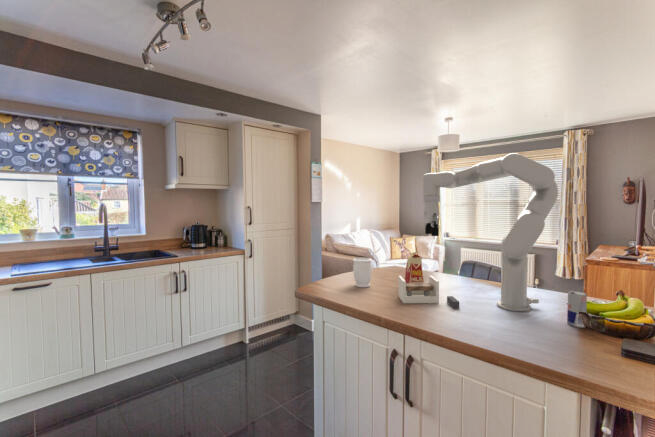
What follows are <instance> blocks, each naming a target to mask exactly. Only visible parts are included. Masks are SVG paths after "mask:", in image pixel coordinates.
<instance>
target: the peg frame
mask: <svg viewBox="0 0 655 437" xmlns="http://www.w3.org/2000/svg"><path fill="white" fill-rule="evenodd" d="M397 278H398V279H397V280H398V297H399V299H400V300H401V302H402V304H439V303H440V281H439V280H438V279H437V278H436V277H434V276H433V275H429V276H428V283H430V284H431V285H432V286H433V291H406V281H405V278H404V277H402V275H398V277H397Z"/></svg>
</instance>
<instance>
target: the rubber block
mask: <svg viewBox="0 0 655 437" xmlns="http://www.w3.org/2000/svg"><path fill="white" fill-rule="evenodd" d="M446 304H448V305H449V307H451V308H452V309H453V310H460V301H459V300H458V299H456V298H455V297H454V296H453V295H452V296H451V295H447V296H446Z"/></svg>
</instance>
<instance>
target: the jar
mask: <svg viewBox="0 0 655 437" xmlns="http://www.w3.org/2000/svg"><path fill="white" fill-rule="evenodd" d="M352 261H353V264H352V265H353V266H352V272H353V278H354V281H355V284H354V285H355V287H358V288H369V287H371V284H370V283H371V280H372V274H373V264H372V261H373V260H372V258H370V257H364V256H363V257H355V258H353V259H352Z"/></svg>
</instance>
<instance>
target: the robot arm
mask: <svg viewBox="0 0 655 437" xmlns="http://www.w3.org/2000/svg"><path fill="white" fill-rule="evenodd" d="M512 176H513V178H517V179H518V180H519V181H522V182H524V183H526V184H528V185H529V186H530V187H531V189H532V194H531V196H530V197H529V200H528V202H527V203H526V205H525V206H524V207H523V210H522V211H521V213H520V214H518V216H517V217H516V219H515V223H513V225H512V228H511V229H510V230H509V232H508V233H507V235H505V236H504V237H503V238H502V240H501V246H500V248H501V251H500V252H501V260H500V261H501V264H500V265H501V267H500V270H501V271H500V272H501V273H500V274H501V275H500V276H501V278H500V300H497V301H496V305H497V306H498V307H499V308H501V309H504V310H508V311H511V312H512V311H513V312H529V311H531V310H532V306H531V304H539V303H540V301H539V299H538V298H532V297H527V296H528V292H527V291H528V254H529V252H530V251H531V250H532V249H533V246H534V245H536V244H535V243H536V242H537V240H538V239H539V238H540V236H541V235H542V233H543V231H544V229H545V227H546V226H545V224H546V222H545V221H546V219H547V217H548V216H549V214H550V213H551V210H553V207H554V206H555V204H556V202H557V199H558V194H559V190H558V186H557V185H558V184H557V182H556V180H555V177H556V174H555V172H554V170H553V169H551V168H550V167H548V166H546V165H545V164H542V163H540V162H537V161H536V160H534V159H531V158H529V157H527V156H525V155H523V154H520V153H517V152H510V153H508V154H506V155H504V156H501V157H499V158H495V159H491V160H485V161H482V162H479V163H476V164H474V165H473V166H470V167H468V168H465V169H462V170H458V171H449V170H448V171H442V172H429V173H424V174H423V177H422V182H423V183H422V188H423V190H422V197H423V199H422V201H423V216H422V218H423V220H422V221H423V222H424V226H425V229H424V230H425V231H424V232H425V233H424V234H425V235H431V237H439V235H440V234H439V232H440V231H439V229H440V226H439V224H440V223H439V222H440V209H439V207H440V206H439V203H440V202H441V193H440V192H441V190H440V189H441V188H445V189H455V188H460V187H464V186H465V187H466V186H468V185H474V184H480V183H483V182H484V183H485V182H488V181H493V180H497V179H502V178H508V177H512Z"/></svg>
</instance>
